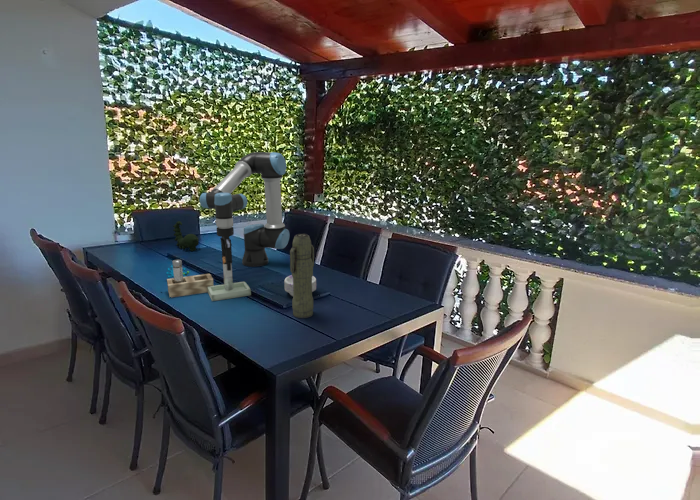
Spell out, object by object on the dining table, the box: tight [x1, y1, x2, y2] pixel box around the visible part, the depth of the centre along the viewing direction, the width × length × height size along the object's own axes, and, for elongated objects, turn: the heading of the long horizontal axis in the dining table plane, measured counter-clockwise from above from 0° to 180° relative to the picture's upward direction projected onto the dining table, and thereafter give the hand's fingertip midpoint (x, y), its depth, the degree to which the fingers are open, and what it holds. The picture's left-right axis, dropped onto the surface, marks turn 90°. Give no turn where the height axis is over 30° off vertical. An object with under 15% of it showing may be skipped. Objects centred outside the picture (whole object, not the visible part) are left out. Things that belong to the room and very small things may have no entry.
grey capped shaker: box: [172, 259, 184, 283], centre depth 201 cm, size 4×4×16 cm
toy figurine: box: [172, 220, 200, 252], centre depth 274 cm, size 9×19×25 cm
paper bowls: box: [283, 274, 317, 297], centre depth 202 cm, size 15×15×8 cm
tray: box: [207, 281, 252, 302], centre depth 202 cm, size 18×12×3 cm, turn 117°
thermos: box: [289, 233, 315, 319], centre depth 177 cm, size 9×12×35 cm
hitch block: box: [166, 273, 215, 298], centre depth 204 cm, size 20×10×6 cm, turn 117°
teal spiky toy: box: [165, 264, 190, 279], centre depth 221 cm, size 11×6×10 cm
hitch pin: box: [221, 256, 234, 291], centre depth 199 cm, size 4×4×16 cm
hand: (228, 274), depth 199 cm, fingers closed on hitch pin, 4 cm apart
